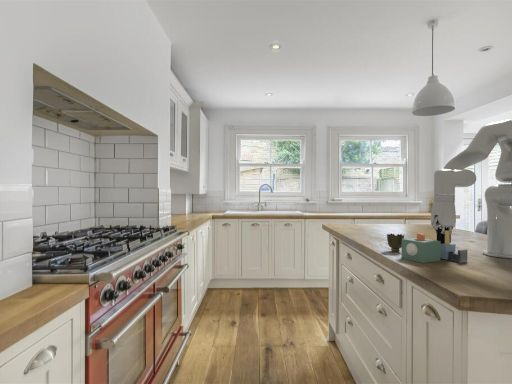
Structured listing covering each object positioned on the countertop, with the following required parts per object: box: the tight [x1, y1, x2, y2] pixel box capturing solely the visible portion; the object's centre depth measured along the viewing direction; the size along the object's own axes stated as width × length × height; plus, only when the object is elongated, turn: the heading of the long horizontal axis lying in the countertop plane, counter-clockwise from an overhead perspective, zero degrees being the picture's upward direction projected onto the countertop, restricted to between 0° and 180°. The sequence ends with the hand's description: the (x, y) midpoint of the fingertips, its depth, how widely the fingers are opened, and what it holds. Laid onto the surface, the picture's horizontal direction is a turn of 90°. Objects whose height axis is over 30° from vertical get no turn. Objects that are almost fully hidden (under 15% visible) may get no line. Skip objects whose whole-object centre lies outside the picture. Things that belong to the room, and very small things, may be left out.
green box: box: [401, 237, 441, 264], centre depth 123 cm, size 10×10×8 cm
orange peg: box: [416, 233, 426, 241], centre depth 123 cm, size 3×3×8 cm
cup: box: [386, 233, 405, 253], centre depth 139 cm, size 8×7×8 cm
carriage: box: [440, 230, 456, 260], centre depth 125 cm, size 6×6×11 cm
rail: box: [440, 248, 468, 264], centre depth 127 cm, size 4×19×5 cm, turn 24°
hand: (443, 242), depth 125 cm, fingers closed on carriage, 3 cm apart
